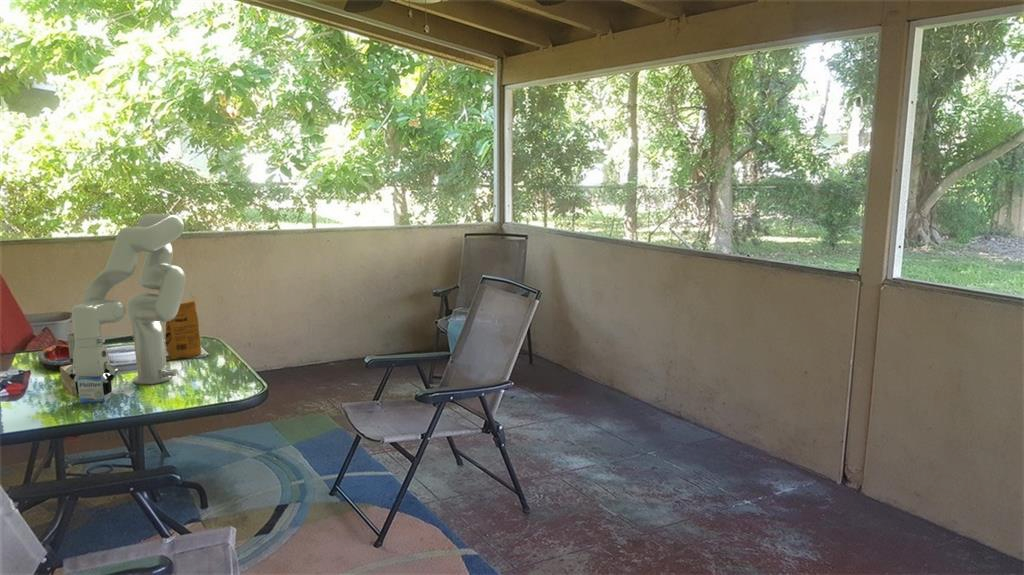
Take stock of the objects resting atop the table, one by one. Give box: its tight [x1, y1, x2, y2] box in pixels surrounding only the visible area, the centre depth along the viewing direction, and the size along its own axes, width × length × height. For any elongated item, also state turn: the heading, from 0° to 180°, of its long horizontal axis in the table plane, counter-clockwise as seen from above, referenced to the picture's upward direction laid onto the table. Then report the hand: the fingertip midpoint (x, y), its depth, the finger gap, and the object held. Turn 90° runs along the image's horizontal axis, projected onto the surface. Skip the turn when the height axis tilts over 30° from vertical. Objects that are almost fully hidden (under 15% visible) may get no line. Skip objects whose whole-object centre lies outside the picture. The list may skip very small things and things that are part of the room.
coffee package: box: [164, 299, 202, 360], centre depth 283 cm, size 10×12×22 cm
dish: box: [37, 344, 70, 371], centre depth 275 cm, size 16×31×5 cm, turn 35°
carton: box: [59, 369, 79, 397], centre depth 244 cm, size 11×12×7 cm
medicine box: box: [77, 376, 111, 404], centre depth 231 cm, size 8×4×9 cm, turn 99°
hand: (94, 393), depth 231 cm, fingers closed on medicine box, 8 cm apart
